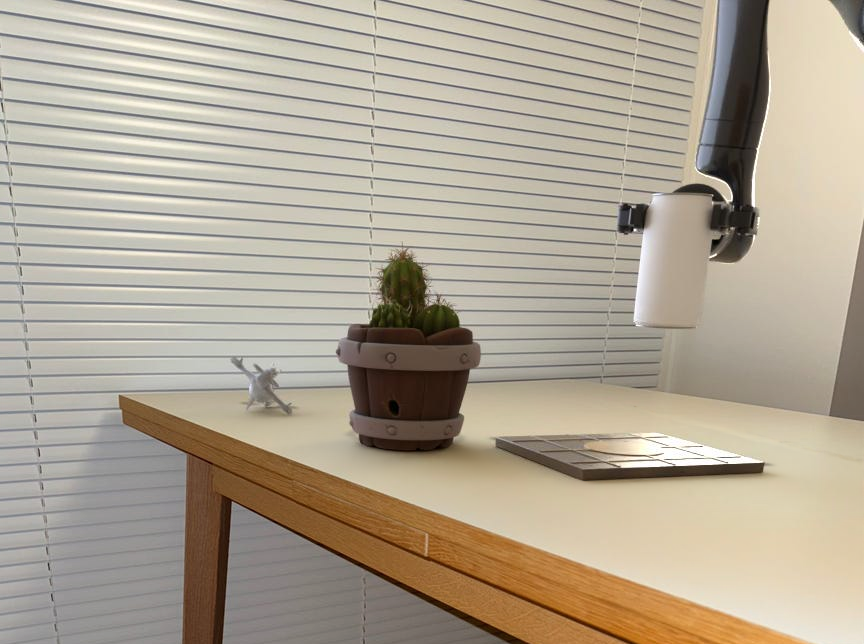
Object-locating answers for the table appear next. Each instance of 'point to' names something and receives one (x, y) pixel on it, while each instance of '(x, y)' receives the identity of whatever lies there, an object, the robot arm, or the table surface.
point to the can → (674, 261)
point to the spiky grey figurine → (262, 385)
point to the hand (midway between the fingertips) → (676, 216)
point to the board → (626, 455)
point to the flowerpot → (408, 364)
